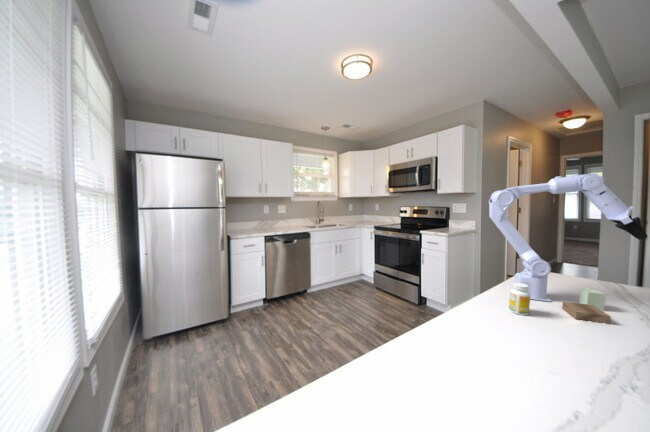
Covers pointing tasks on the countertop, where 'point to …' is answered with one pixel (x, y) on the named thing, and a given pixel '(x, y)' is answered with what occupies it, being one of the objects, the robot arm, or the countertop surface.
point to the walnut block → (586, 312)
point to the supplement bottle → (519, 299)
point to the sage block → (592, 298)
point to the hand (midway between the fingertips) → (638, 234)
